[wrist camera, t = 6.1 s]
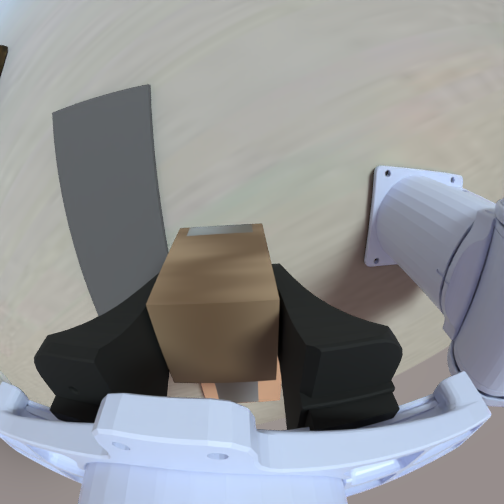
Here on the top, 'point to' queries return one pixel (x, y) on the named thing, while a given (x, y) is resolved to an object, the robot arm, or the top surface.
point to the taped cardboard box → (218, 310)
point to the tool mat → (111, 192)
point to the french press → (3, 378)
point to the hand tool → (2, 56)
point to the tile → (265, 388)
